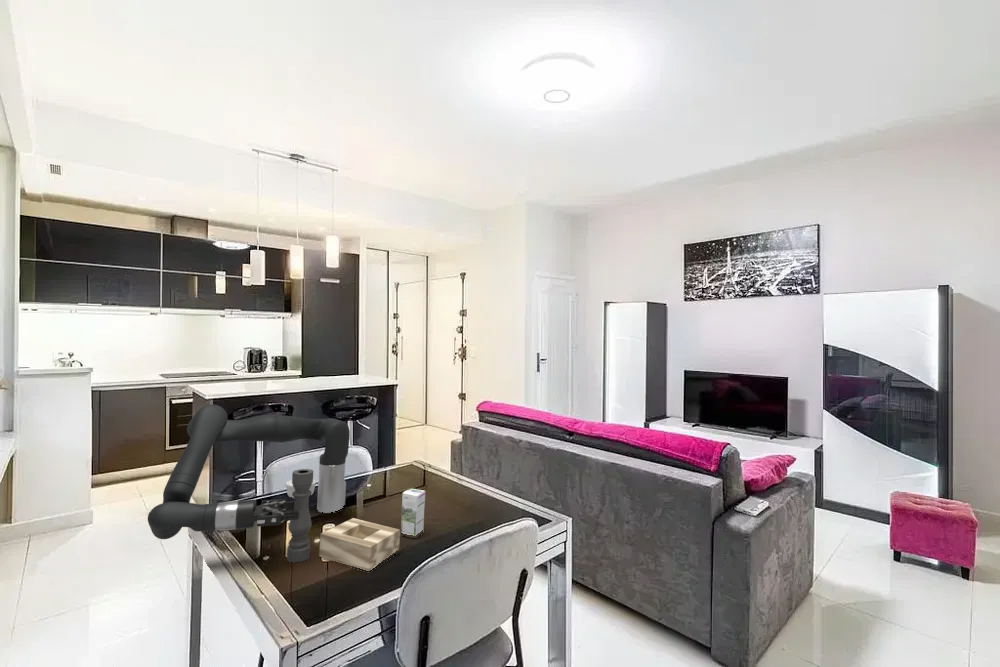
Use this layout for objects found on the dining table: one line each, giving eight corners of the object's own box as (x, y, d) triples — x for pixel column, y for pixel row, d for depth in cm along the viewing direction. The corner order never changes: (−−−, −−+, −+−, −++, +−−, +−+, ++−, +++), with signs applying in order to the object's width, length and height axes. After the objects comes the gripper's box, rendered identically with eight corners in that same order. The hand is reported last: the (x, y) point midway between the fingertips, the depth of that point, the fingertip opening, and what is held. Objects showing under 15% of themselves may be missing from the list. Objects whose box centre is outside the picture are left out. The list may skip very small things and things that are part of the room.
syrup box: (423, 533, 160) (426, 489, 160) (415, 539, 154) (417, 495, 154) (408, 530, 161) (411, 487, 162) (399, 536, 156) (402, 492, 156)
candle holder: (291, 552, 141) (295, 468, 141) (312, 553, 141) (317, 469, 141) (283, 562, 134) (288, 474, 135) (305, 563, 135) (310, 475, 135)
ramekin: (280, 494, 190) (280, 481, 190) (306, 488, 199) (307, 476, 199) (293, 501, 183) (294, 487, 183) (320, 495, 191) (321, 482, 191)
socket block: (351, 540, 151) (353, 518, 151) (398, 552, 144) (400, 529, 144) (319, 557, 138) (320, 533, 139) (368, 572, 131) (370, 547, 131)
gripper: (232, 510, 125) (299, 505, 131) (240, 493, 138) (300, 489, 144) (231, 538, 125) (298, 532, 131) (239, 518, 138) (299, 513, 144)
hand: (299, 509), depth 138 cm, fingers open, 8 cm apart
